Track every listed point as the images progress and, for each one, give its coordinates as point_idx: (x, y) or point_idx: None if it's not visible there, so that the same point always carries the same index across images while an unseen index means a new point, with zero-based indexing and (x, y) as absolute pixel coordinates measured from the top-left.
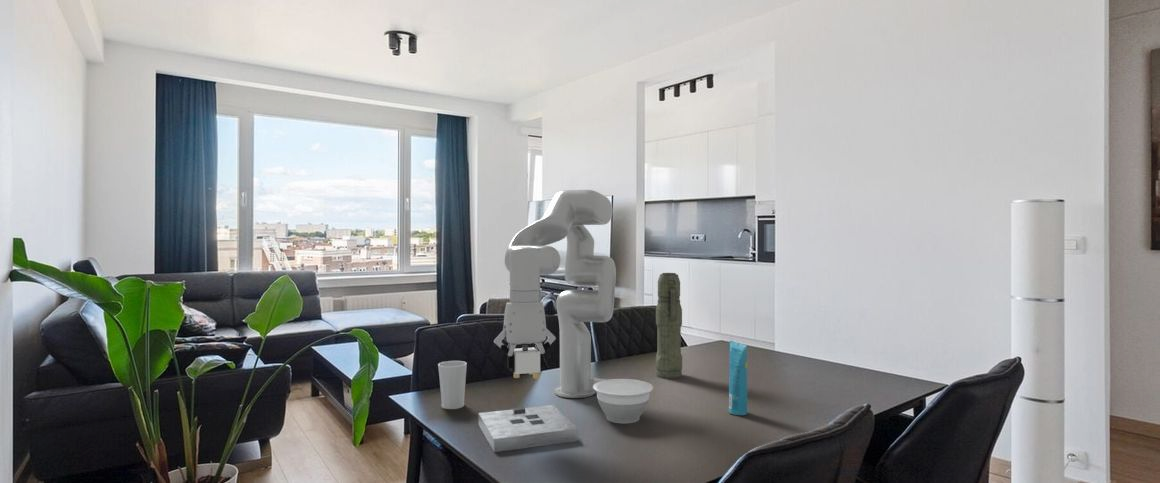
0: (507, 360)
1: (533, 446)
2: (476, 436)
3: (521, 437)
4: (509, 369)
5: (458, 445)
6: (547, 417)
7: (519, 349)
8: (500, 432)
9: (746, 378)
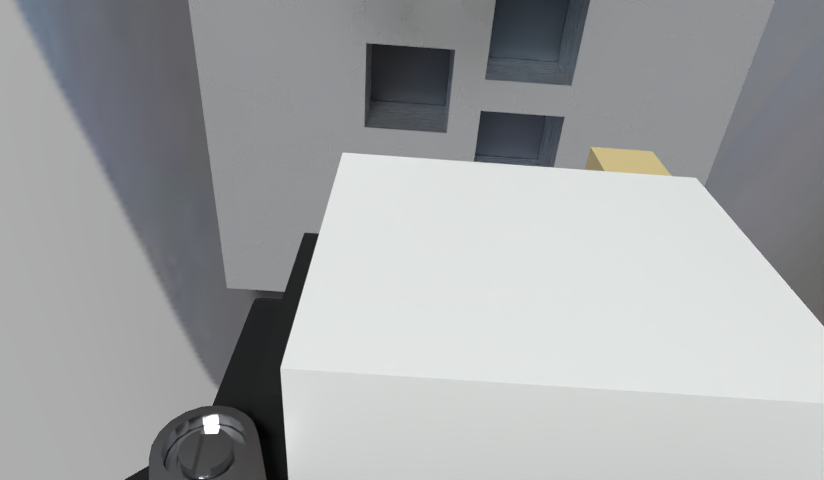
0: (233, 370)
1: None
2: (169, 6)
3: None
4: (305, 237)
5: (72, 106)
6: (619, 94)
7: (463, 475)
8: (271, 223)
9: None
